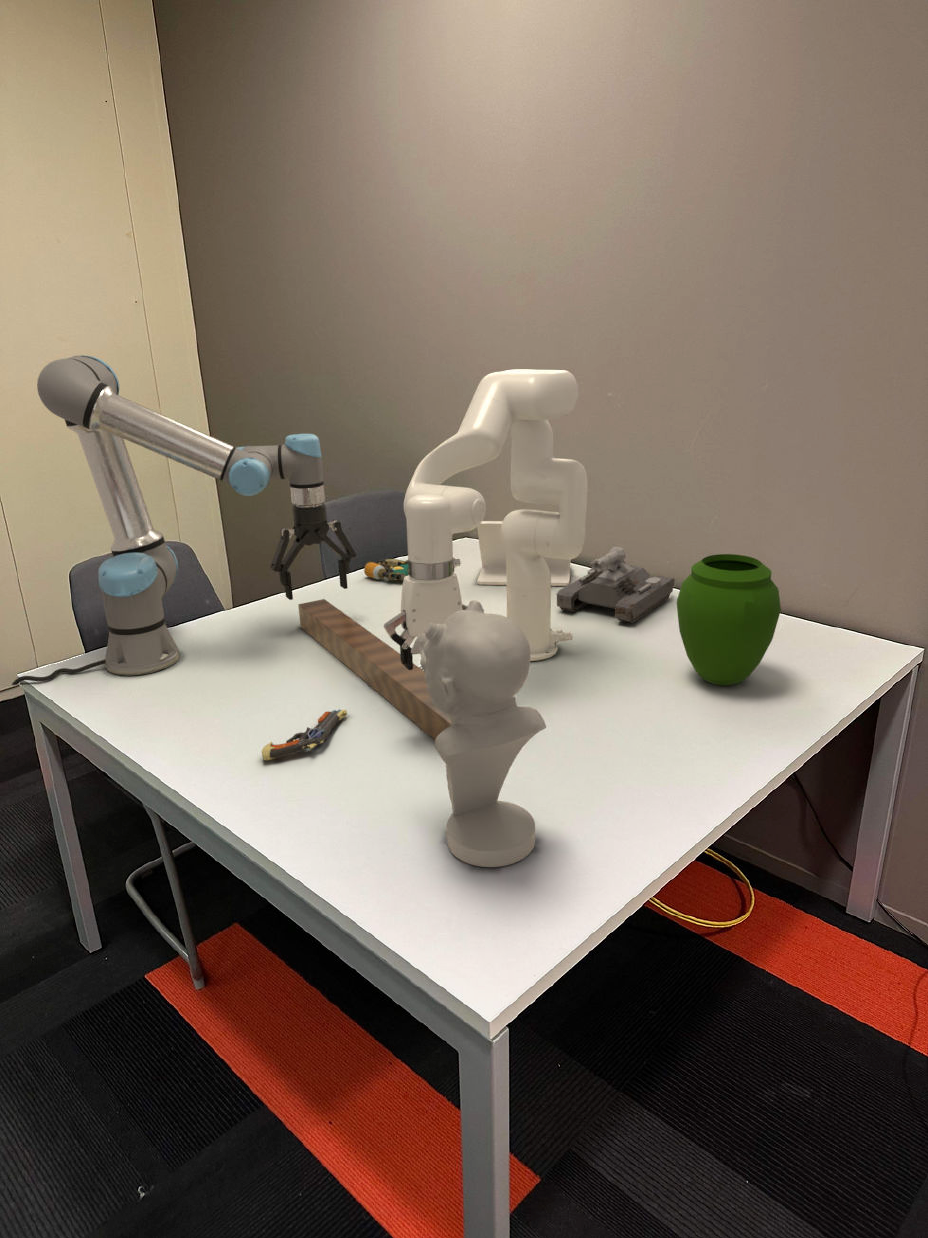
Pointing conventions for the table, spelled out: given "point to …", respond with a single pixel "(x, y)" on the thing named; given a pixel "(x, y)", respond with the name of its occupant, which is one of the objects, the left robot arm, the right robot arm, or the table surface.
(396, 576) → the spray gun
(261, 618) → the table surface
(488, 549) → the tablet stand
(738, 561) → the vase
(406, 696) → the beam
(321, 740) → the toy gun
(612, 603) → the toy
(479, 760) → the bust sculpture
